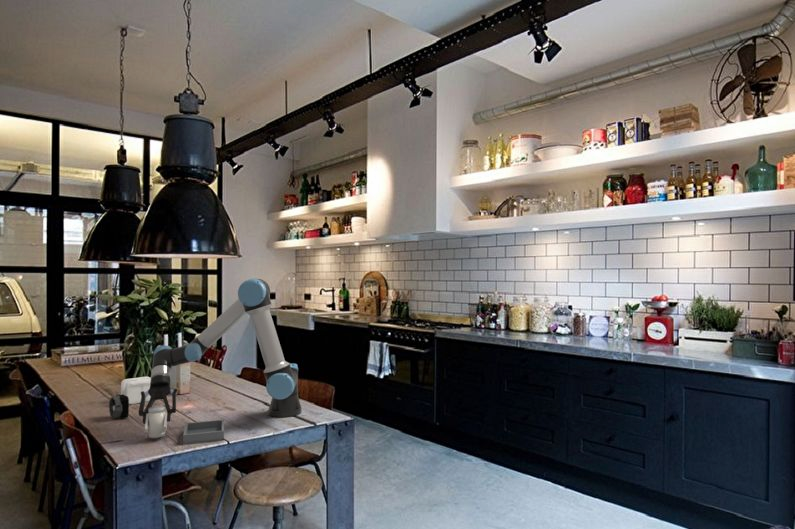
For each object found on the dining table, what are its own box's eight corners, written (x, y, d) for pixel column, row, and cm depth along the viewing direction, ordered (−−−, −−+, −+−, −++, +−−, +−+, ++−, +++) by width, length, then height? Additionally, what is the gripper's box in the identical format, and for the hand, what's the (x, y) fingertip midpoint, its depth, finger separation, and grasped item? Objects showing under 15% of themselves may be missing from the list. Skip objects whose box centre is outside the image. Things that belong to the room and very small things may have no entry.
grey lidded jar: (166, 432, 197) (166, 404, 197) (164, 437, 191) (164, 408, 192) (149, 434, 195) (149, 406, 195) (147, 438, 189) (147, 410, 190)
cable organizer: (151, 397, 262) (152, 375, 262) (158, 401, 254) (158, 378, 254) (120, 402, 252) (120, 379, 252) (126, 406, 244) (126, 382, 244)
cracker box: (190, 393, 271) (191, 355, 272) (179, 395, 267) (180, 356, 267) (180, 389, 281) (180, 352, 281) (169, 391, 277) (170, 353, 277)
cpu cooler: (108, 417, 225) (108, 394, 225) (122, 414, 229) (122, 392, 229) (115, 421, 217) (116, 398, 218) (129, 418, 222) (129, 396, 222)
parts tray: (223, 428, 207) (223, 419, 207) (223, 440, 192) (223, 431, 192) (186, 431, 202) (186, 423, 203) (183, 444, 187) (183, 435, 187)
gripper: (185, 382, 211) (182, 431, 195) (136, 386, 205) (129, 437, 189) (184, 372, 206) (181, 421, 191) (134, 375, 200) (126, 427, 184)
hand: (155, 429), depth 190 cm, fingers closed on grey lidded jar, 6 cm apart
